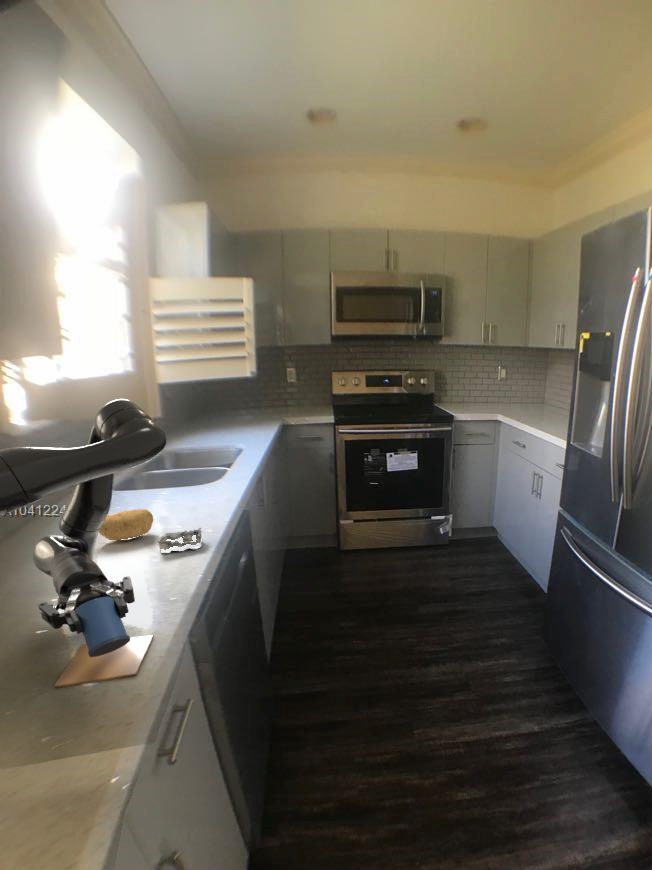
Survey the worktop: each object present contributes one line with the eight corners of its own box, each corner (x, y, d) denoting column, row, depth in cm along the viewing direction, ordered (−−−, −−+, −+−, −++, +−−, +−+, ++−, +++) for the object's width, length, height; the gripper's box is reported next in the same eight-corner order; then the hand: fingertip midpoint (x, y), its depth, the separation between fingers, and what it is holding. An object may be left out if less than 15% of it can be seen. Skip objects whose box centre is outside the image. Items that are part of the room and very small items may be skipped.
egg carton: (158, 556, 118) (154, 541, 116) (163, 544, 124) (160, 530, 123) (202, 550, 120) (199, 535, 119) (204, 539, 127) (202, 525, 125)
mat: (54, 687, 72) (54, 685, 72) (82, 646, 82) (82, 644, 82) (136, 675, 74) (135, 673, 74) (153, 636, 85) (153, 634, 84)
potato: (101, 538, 130) (94, 512, 127) (155, 528, 136) (150, 503, 133) (99, 551, 122) (92, 523, 119) (157, 539, 127) (151, 513, 125)
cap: (80, 657, 68) (64, 612, 70) (103, 657, 74) (87, 615, 75) (118, 637, 69) (101, 593, 71) (137, 638, 74) (121, 598, 76)
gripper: (25, 576, 77) (38, 617, 65) (118, 550, 86) (145, 582, 74) (38, 614, 80) (53, 660, 68) (128, 585, 89) (155, 621, 77)
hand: (101, 619), depth 71 cm, fingers closed on cap, 5 cm apart
